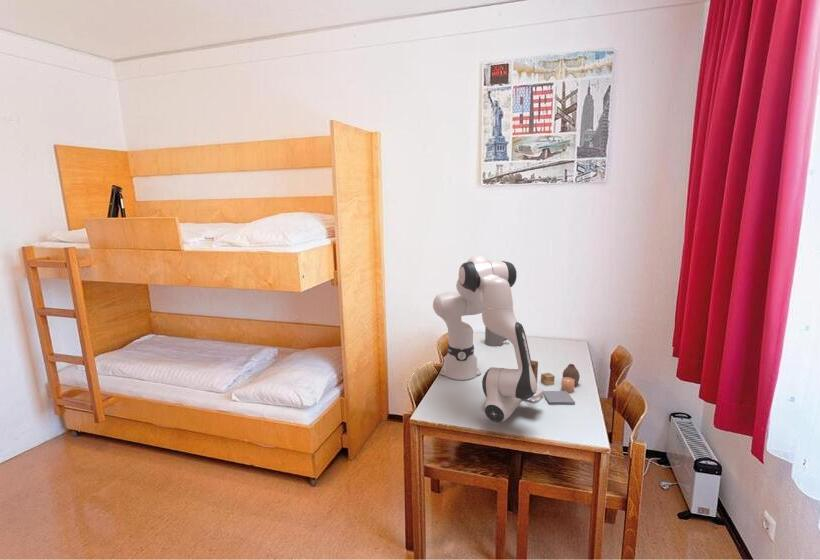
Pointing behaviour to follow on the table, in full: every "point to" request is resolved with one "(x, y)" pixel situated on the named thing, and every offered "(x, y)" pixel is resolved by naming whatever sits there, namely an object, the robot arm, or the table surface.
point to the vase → (572, 373)
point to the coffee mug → (493, 338)
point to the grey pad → (558, 398)
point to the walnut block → (535, 368)
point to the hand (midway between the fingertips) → (522, 382)
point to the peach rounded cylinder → (568, 384)
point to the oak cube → (547, 379)
